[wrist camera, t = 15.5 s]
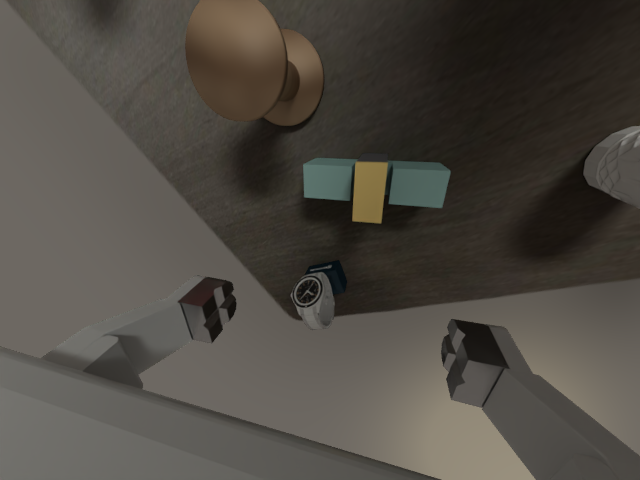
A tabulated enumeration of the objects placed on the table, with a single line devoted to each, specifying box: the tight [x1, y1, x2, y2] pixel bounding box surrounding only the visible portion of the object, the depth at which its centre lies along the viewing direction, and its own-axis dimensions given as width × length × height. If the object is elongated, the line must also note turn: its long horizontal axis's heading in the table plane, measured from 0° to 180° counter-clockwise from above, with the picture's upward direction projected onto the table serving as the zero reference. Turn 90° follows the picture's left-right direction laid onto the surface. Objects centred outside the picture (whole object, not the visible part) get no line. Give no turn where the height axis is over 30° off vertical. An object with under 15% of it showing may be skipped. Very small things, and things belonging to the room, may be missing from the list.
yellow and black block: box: [352, 153, 388, 223], centre depth 27 cm, size 6×3×8 cm, turn 0°
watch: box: [291, 260, 347, 330], centre depth 37 cm, size 6×8×11 cm
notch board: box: [303, 158, 451, 208], centre depth 30 cm, size 4×16×6 cm, turn 90°
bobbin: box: [185, 0, 324, 126], centre depth 25 cm, size 10×10×12 cm
